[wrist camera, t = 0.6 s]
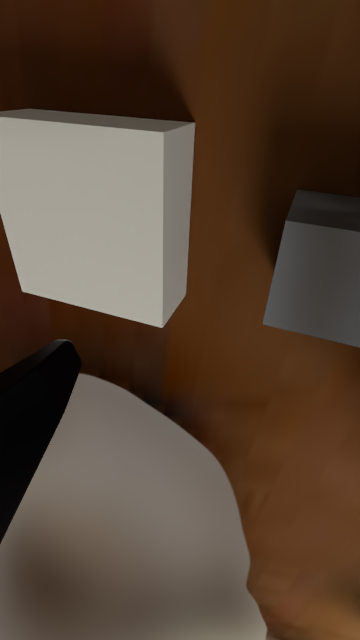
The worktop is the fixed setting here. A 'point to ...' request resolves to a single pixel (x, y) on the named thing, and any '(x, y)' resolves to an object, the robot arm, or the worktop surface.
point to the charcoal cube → (318, 269)
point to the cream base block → (98, 209)
